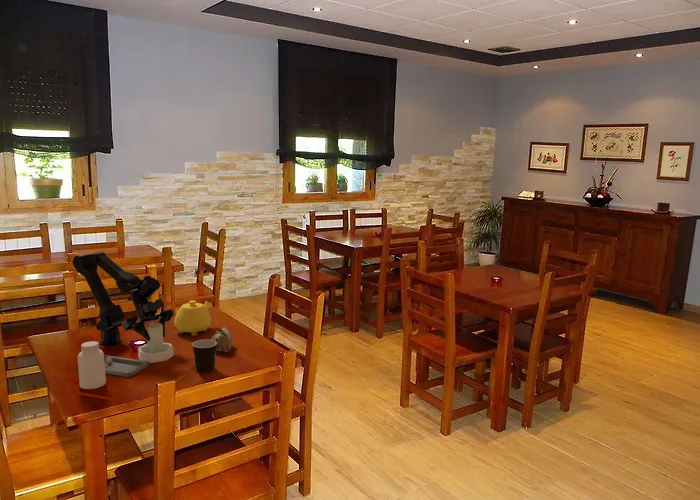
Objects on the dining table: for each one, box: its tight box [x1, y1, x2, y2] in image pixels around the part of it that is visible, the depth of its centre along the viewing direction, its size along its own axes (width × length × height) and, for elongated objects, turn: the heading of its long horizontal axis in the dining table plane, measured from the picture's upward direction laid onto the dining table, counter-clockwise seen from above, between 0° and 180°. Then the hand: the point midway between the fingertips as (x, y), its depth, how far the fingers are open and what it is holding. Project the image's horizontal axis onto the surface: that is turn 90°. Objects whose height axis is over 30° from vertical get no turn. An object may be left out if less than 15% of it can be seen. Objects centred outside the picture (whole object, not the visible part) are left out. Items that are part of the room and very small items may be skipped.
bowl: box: [137, 342, 175, 364], centre depth 206 cm, size 12×12×4 cm
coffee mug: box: [191, 338, 217, 374], centre depth 198 cm, size 12×9×10 cm
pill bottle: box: [77, 340, 107, 390], centre depth 180 cm, size 8×8×15 cm
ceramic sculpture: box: [210, 326, 234, 353], centre depth 216 cm, size 11×9×15 cm
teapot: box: [173, 299, 212, 337], centre depth 238 cm, size 20×16×14 cm
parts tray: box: [104, 354, 150, 378], centre depth 194 cm, size 19×11×3 cm, turn 75°
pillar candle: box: [146, 321, 164, 354], centre depth 205 cm, size 6×6×12 cm
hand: (156, 338), depth 204 cm, fingers closed on pillar candle, 6 cm apart
